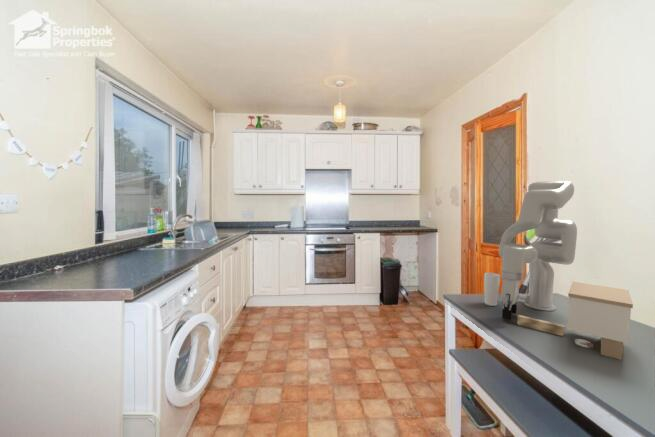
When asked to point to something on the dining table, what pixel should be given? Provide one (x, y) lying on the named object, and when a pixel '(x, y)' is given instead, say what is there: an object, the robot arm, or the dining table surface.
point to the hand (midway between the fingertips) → (509, 315)
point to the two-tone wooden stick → (536, 324)
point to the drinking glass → (491, 288)
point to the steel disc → (583, 343)
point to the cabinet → (601, 315)
